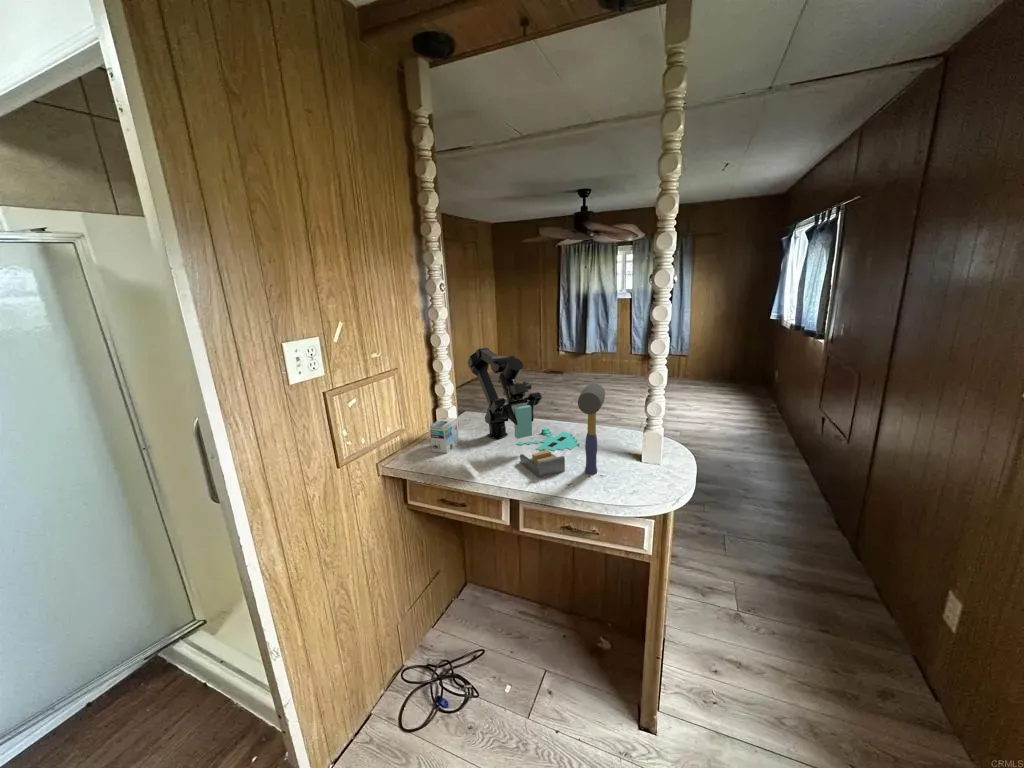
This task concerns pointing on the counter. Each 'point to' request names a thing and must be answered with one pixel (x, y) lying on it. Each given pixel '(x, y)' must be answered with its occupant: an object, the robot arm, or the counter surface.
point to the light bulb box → (444, 434)
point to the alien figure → (555, 441)
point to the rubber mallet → (591, 421)
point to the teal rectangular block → (523, 421)
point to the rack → (544, 465)
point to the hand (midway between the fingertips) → (524, 422)
